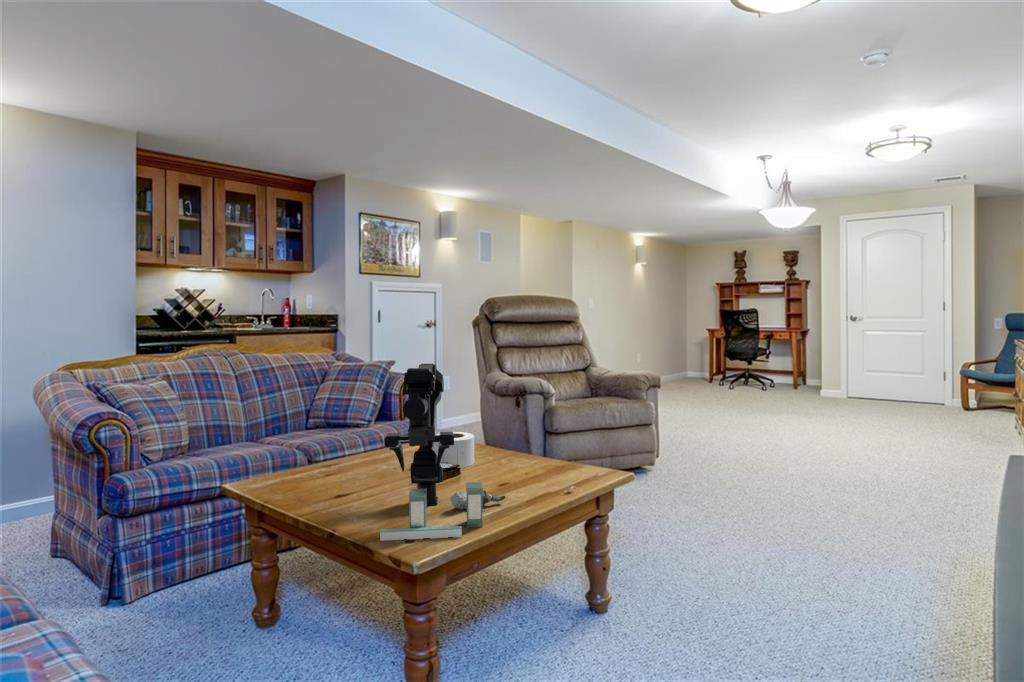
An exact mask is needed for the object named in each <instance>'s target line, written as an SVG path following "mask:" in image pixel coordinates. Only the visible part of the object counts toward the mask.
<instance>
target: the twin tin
mask: <svg viewBox="0 0 1024 682" xmlns="http://www.w3.org/2000/svg"><path fill="white" fill-rule="evenodd" d="M465 487H466V491H465V492H466V496H467V505H466V507H467V508H466V528H467V529H469V528H470V529H471V528H473V527H474V528H483V505H482V490H483V489H484V488H483V482H482V481H474V482H465ZM483 491H484V490H483Z"/></svg>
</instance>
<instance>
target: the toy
mask: <svg viewBox="0 0 1024 682" xmlns="http://www.w3.org/2000/svg"><path fill="white" fill-rule="evenodd" d="M505 499H506V495H502V496H497V495H492V494H491V493H490V492H489V493H488V494H487V490H482V507H484V506H485V505H487V503H490V502H494V503H495V502H497V503H499V502H502V501H503V500H505ZM450 502H451V504H452V507H454V508H456V509H458V510H461V509H462V510H467V496H466V491H465V492H461V491H456V492H455V493H454V494H453V495H452V496H451V497H450Z"/></svg>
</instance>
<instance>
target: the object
mask: <svg viewBox="0 0 1024 682" xmlns="http://www.w3.org/2000/svg"><path fill="white" fill-rule="evenodd" d="M452 432H453V433H454V445H450V447H449V448H446V449H445V451H444V453H443V455H442V458H441V461H440V462H448V463H454V464H458V465H460V467H466V468H468V467H467V466H470V465H472V464H473V463H474V464H475V435H474V434H473V433H470V432H465V431H464V432H463V431H452ZM435 435H440V433H437V434H436V433H435ZM438 448H439V442H434V451H435V453H436V455H437V456H438ZM474 464H473V465H474ZM473 465H472V466H473ZM470 467H471V466H470Z"/></svg>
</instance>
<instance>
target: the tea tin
mask: <svg viewBox="0 0 1024 682" xmlns="http://www.w3.org/2000/svg"><path fill="white" fill-rule="evenodd" d="M426 493H427V488H417V487H416V488H410V489H409V493H408V500H409V501H408V509H409V510H408V511H409V515H408V516H409V520H408V521H409V528H426V527H428V522H427V521H428V519H427V516H428V515H427V509H428V508H427V506H428V505H427V496H426Z"/></svg>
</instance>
